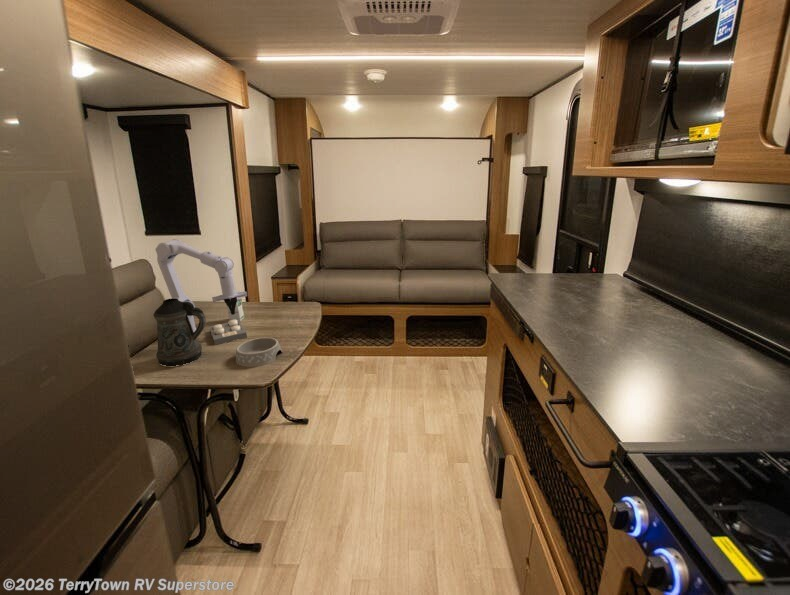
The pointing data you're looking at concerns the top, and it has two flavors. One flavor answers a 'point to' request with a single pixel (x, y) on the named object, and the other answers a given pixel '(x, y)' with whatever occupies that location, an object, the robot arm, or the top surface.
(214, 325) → the button back left
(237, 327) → the button front right
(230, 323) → the button back right
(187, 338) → the beer stein
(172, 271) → the robot arm
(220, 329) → the button front left
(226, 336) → the button board
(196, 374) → the top surface
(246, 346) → the dog bowl
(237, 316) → the syrup box
